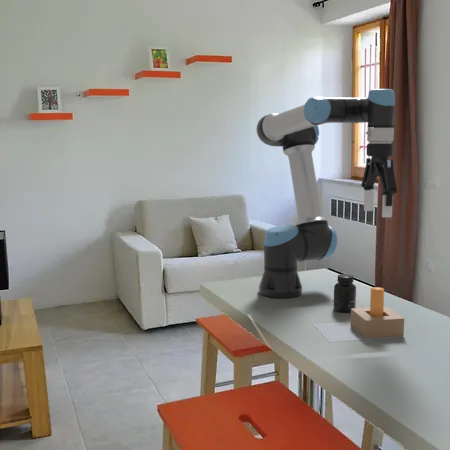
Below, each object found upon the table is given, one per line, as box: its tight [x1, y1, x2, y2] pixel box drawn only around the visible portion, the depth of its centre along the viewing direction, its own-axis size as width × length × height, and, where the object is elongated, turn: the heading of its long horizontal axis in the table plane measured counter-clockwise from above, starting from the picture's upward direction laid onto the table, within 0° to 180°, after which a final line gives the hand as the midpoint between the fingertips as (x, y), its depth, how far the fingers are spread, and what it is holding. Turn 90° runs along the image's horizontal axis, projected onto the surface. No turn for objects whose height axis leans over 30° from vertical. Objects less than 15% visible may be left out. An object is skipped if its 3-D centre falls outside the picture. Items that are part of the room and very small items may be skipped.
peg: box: [369, 286, 385, 317], centre depth 165 cm, size 4×4×12 cm
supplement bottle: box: [332, 273, 357, 314], centre depth 185 cm, size 7×7×12 cm
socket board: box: [312, 306, 407, 343], centre depth 166 cm, size 15×22×6 cm
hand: (377, 214), depth 178 cm, fingers open, 13 cm apart
